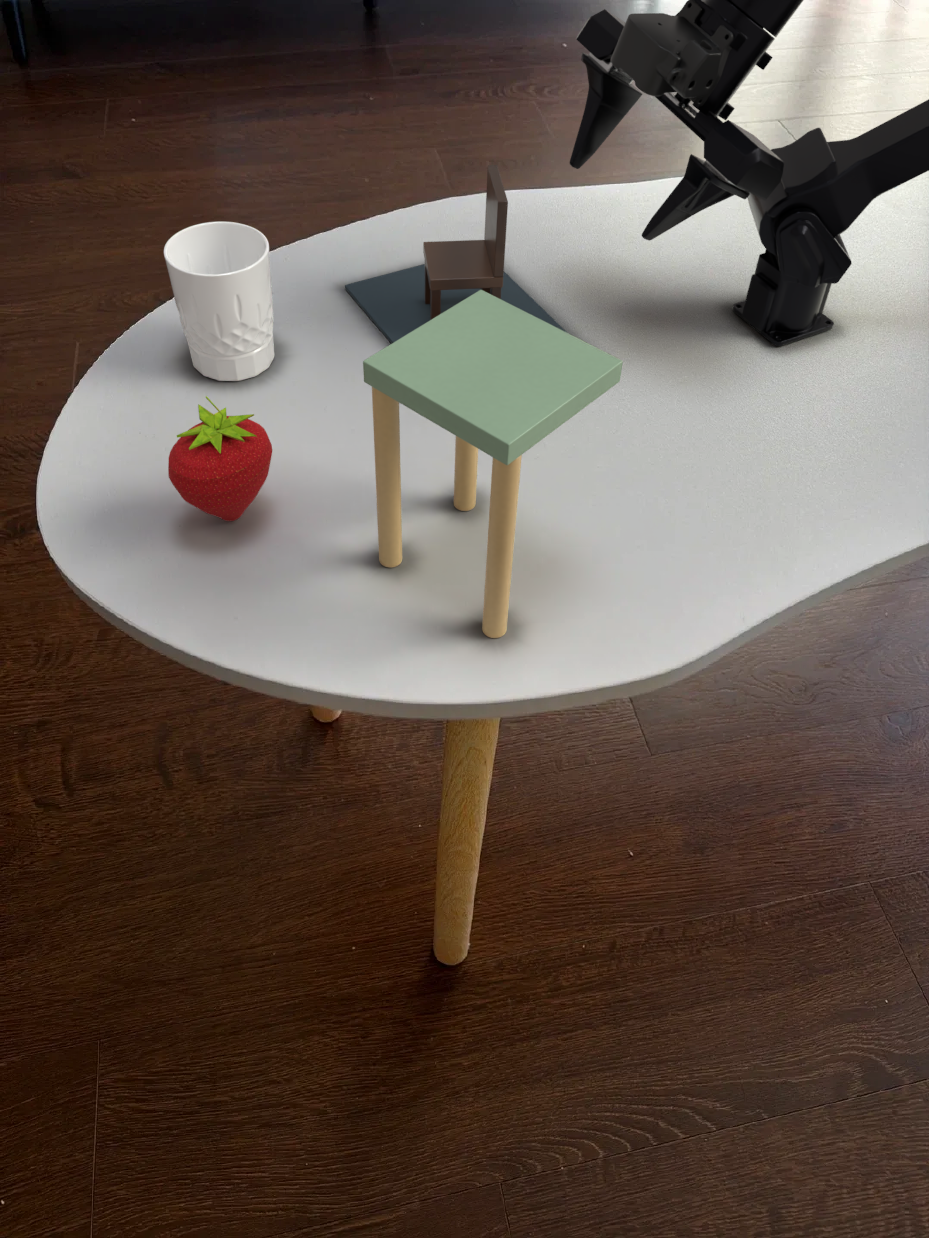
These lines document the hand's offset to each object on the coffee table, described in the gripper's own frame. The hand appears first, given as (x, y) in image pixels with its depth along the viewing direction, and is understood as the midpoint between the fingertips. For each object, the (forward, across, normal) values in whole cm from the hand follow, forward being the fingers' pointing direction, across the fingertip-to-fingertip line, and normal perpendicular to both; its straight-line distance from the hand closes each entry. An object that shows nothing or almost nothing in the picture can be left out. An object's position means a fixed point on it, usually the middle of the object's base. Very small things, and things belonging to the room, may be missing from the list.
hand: (608, 202), depth 86 cm
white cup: (+27, -11, -16) cm, 33 cm away
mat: (+16, -5, 0) cm, 17 cm away
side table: (+19, +19, -16) cm, 32 cm away
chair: (+15, -5, 0) cm, 16 cm away
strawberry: (+28, +6, -26) cm, 38 cm away
